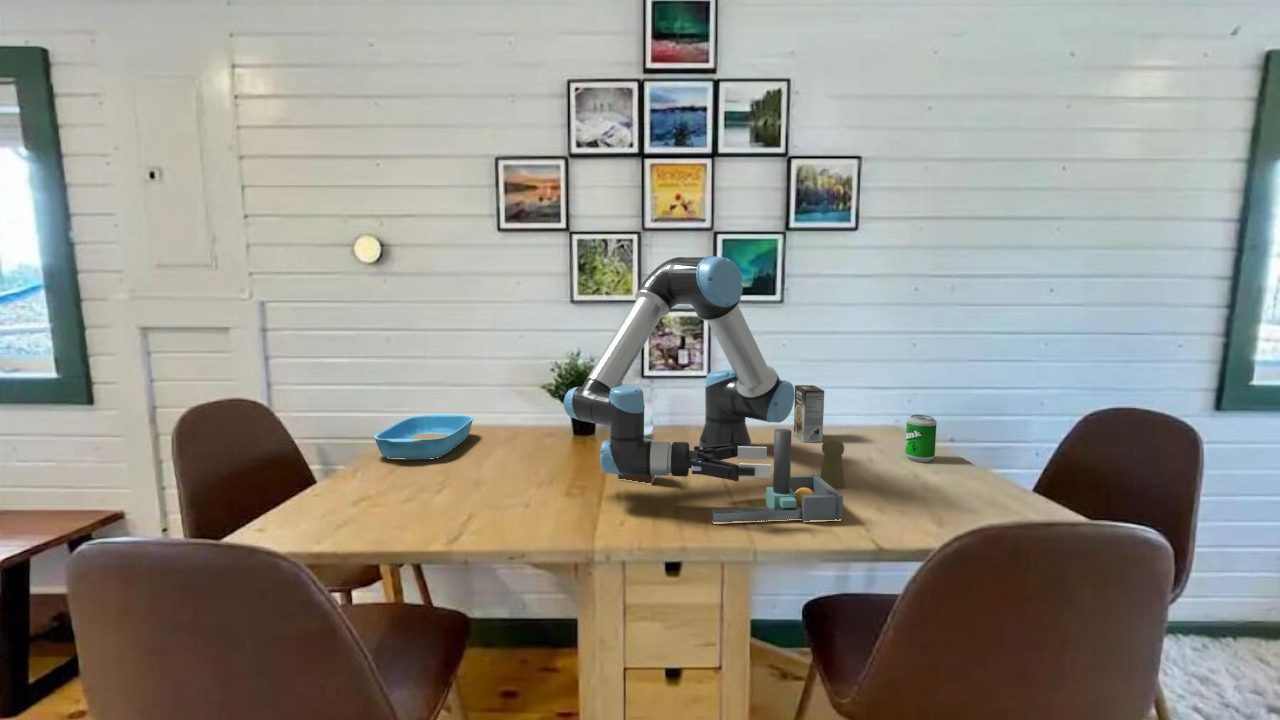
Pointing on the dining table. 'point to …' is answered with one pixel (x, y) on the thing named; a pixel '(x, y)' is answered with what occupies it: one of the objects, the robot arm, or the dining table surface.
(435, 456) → the casserole dish
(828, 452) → the olive pawn figure
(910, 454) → the soda can
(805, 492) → the ball
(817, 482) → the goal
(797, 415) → the coffee box
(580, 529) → the dining table surface
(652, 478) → the food container
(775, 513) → the rail
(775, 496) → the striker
